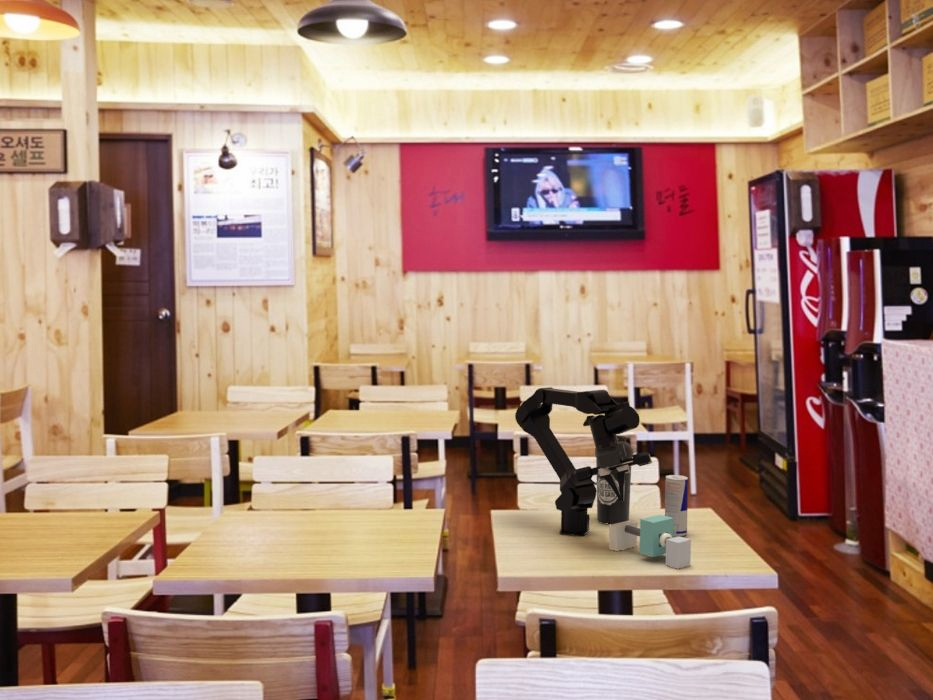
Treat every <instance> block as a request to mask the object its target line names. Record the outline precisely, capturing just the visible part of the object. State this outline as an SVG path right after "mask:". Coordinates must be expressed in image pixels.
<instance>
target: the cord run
mask: <svg viewBox="0 0 933 700" xmlns="http://www.w3.org/2000/svg"><path fill="white" fill-rule="evenodd" d="M608 537H609V540H608V541H609V542H608V545H609V547H608V549H609V550H610V549H612V550H611V551H613V550H615V551H614V552H616V551H618V552H620V551H619V550H622V551H624V550H623V549H626V550H628V549H627V548H630V549H633V548H632V547H634V548H637V547H638V537H640V527H638V522H637V521H633V520H630V519H629V521H625V522H620V523H616V524H611V525H609V534H608ZM659 544H660V545H661V546H662V547H666V554H665V566H666V565H668V566H667V567H669V566H670V567H671V568H673V569H676V568H677V569H676V570H679V568H680V569H683V568H687V567H690V566H691V558H692V557H691V555H692V551H691V550H692V549H691V548H692V540H691V539H690V538H686V537H684V536H678V537H675V536H673V538H672V536H671V535H670V534H668V533H662V534H661V535H660V534H659ZM636 546H637V547H636Z"/></svg>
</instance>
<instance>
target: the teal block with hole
mask: <svg viewBox="0 0 933 700" xmlns="http://www.w3.org/2000/svg"><path fill="white" fill-rule="evenodd" d="M639 521H640V522H639V523H640V524H639V529H640V536H639V554H642V555H645V556H648V557H651V558H655V557H659V556H662V555H666V547H662V546H661V545H660V544H659V534H660V535H661V534H662V533H668V534H670V535H671V536H672V538H674V536H673V534H674V518H672V517H668V516H665V514H657V515H653V516H652V515H651V516H648V517H644V518H640V519H639Z"/></svg>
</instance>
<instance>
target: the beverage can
mask: <svg viewBox="0 0 933 700" xmlns="http://www.w3.org/2000/svg"><path fill="white" fill-rule="evenodd" d="M688 479H689V477H687V476H686V475H685V476H684V475H678V474H677V475H676V474H669V475H665V489H664V491H665V492H664V496H665V497H664V499H665V500H664V516H668V517H672V518H674V534H673V537H678V536H680V537H684V536H686V535H687V534H688V505H689V504H688V500H689V497H688V496H689V480H688Z"/></svg>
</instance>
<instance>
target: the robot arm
mask: <svg viewBox="0 0 933 700" xmlns="http://www.w3.org/2000/svg"><path fill="white" fill-rule="evenodd" d="M553 405H557V406H564V407H565V406H566V407H572V408H575V409H576V411H578V412H581V413H583V414H586V415H587V416H586V418H585V420H584V422H583V424H582V425H583V427H589V428H590V431H591V435H592V439H593V443H594V446H595V448H596V451H597V460H598V464H599V467H596V466H595V467H592V466H584V467H579V468H576V467H575V466H574V463H573V462H572V460H571V459H570V457H569V456H568V454H567V453H566V451H565V449H564V447H562V445H561V443H560V442H559V440H558V438H557V437H556V436H555V434H554V433H553V432H554V431H552V429H551V426H550V425H551V418H550V417H551V416H550V413H551V412H552V411H553ZM590 414H591V415H590ZM514 415H515V416H514V417H515V421H516V423H517V425H518V426H519V427H520V428H521V430H522V431H523V432H525V434H526V433H527V434H528V435H529V436H531V437H533V438H534V440H535V441H536V444H538V447H540V449H541V450H542V453H543V454H544V456H545V458H546V460H548V463H549V464H550V465H551V468H552V469H553V471H554V472H555V474H556V475H557V478H558V479H559V491H560V495H558V497H557V498H556V499H555V501H554V505H555V508H556V510H558V511H560V521H561V522H560V530H559V532H558V533H559V535H570V536H579V537H584V536H585V535H587V533H588V532H589V531H590V514H588V509H592V508H593V507H594V503H595V500H596V499H597V486H595V484H596V482H595V481H594V480H593V479H592V478H593V476H597V474H599V475H600V477H599V478H600V479H605V480H606V481H607V482H608V484H609V485H610V486H611V488H612V489H613V491H614V492H615V494H616V495H617V497H618V499H619V500H620V502H623V501H624V490H625V481H626V475H627V473H630V470H629V466H631V467H633V466H636V465H637V466H639V467H643V466H648V465H650V464H653V460H652V458H651V455H650V453H649V452H647V451H642V452H638V453H635V454H634V453H633V455H632V456H633V458H631V459H627V460H623V458H624V457H626V452H625V448H624V445H623V443H620V444H619V443H618V439H617V436H616V435H621V434H623V433H627V432H628V431H629V432H630V431H632V430H634V429H637V428H638V427H639V425H640V415H639V413H638V412H637V411H636V409H635V408H634V407H632V406H630V402H629V401H624V402H623V401H622V402H620V403H618V402H617V401H616V400H614V399H613V397H611V396H610V394H609V391H608V390H606V389H597V390H596V389H595V390H585V391H577V390H568V389H561V388H553V387H552V386H551V387H540V388H538V389H536V390H535V392H534V393H533V394H532V395H531V396H530V397H529V396H528V398H527V399H525V400H523V402H522V403H521V404H520V405H519V406H518V407H517V408H516V411H515V414H514ZM619 463H621V464H619ZM607 466H609V467H607ZM613 470H617V471H618V472H616V473H617V477H618V483H619V489H618V487H617V484H616V482H615V479H614V476H613V475H612V474H610V473H611V471H613ZM619 490H620V492H619Z"/></svg>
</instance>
